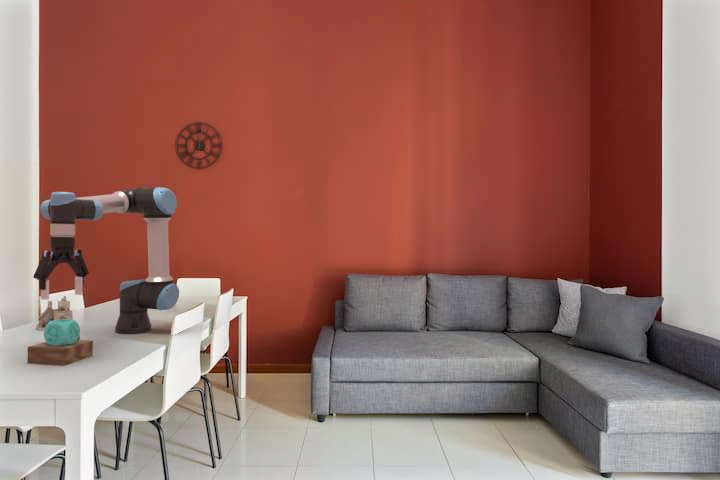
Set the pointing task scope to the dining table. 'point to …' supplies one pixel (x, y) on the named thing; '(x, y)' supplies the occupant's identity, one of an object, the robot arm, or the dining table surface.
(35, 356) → the walnut block
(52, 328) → the decorative dice
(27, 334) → the dining table surface
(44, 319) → the ceramic cottage
